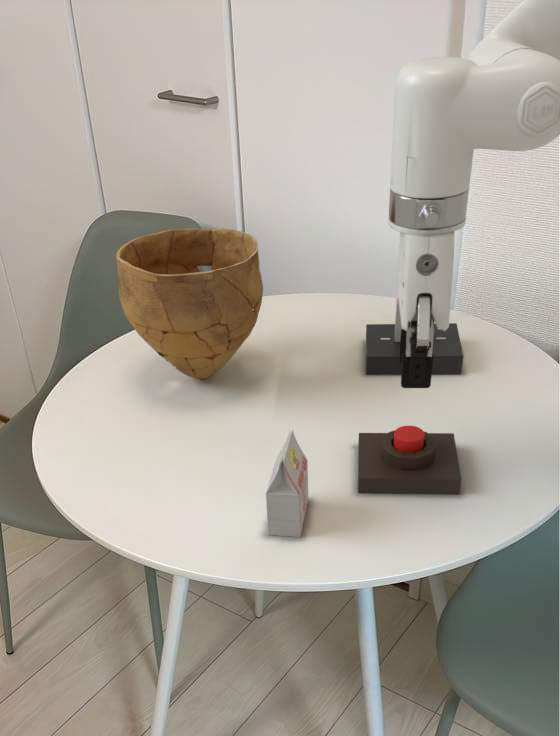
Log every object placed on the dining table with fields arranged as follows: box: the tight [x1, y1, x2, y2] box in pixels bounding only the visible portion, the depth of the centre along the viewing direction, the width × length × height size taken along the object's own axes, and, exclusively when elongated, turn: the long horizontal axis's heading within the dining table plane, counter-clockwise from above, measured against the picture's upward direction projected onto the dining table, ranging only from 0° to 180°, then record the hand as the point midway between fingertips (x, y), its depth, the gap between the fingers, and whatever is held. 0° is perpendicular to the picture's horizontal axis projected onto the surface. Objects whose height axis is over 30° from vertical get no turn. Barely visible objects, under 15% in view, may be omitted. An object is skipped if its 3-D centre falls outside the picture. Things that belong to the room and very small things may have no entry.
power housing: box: [357, 429, 462, 495], centre depth 93 cm, size 12×10×4 cm
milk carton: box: [265, 429, 309, 538], centre depth 85 cm, size 4×7×10 cm, turn 169°
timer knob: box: [394, 297, 403, 342], centre depth 113 cm, size 6×2×6 cm, turn 84°
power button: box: [394, 425, 425, 452], centre depth 91 cm, size 4×4×2 cm
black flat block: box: [365, 322, 464, 376], centre depth 115 cm, size 14×11×3 cm
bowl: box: [115, 228, 264, 380], centre depth 109 cm, size 21×20×20 cm
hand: (414, 372), depth 86 cm, fingers open, 5 cm apart
